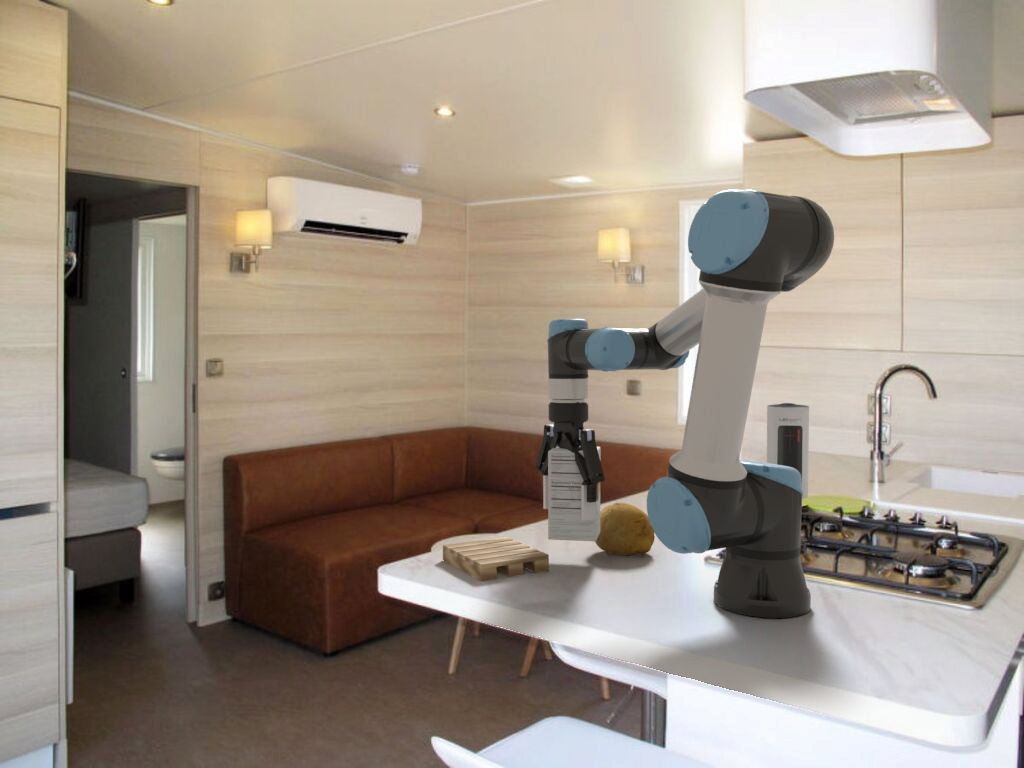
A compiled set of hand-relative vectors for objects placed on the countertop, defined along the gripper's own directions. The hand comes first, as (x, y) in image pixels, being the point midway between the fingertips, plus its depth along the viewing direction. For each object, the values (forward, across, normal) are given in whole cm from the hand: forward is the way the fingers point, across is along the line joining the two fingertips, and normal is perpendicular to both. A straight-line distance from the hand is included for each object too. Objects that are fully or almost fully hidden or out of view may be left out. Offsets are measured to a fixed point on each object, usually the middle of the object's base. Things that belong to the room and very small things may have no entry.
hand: (568, 513), depth 162 cm
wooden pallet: (+9, +6, +13) cm, 17 cm away
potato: (+10, +2, -14) cm, 17 cm away
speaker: (+9, +21, -81) cm, 84 cm away
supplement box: (+5, 0, -1) cm, 5 cm away
